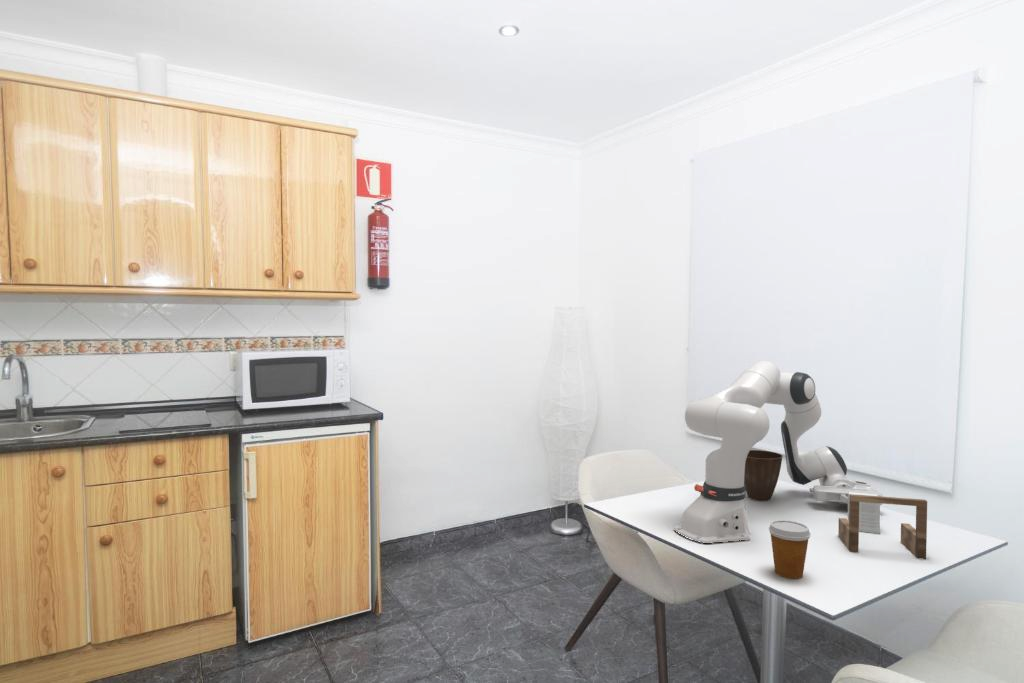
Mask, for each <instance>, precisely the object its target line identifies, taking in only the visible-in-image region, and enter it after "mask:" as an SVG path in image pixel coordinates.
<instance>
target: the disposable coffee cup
mask: <svg viewBox="0 0 1024 683" xmlns="http://www.w3.org/2000/svg"><path fill="white" fill-rule="evenodd" d="M767 529H768V531H769V533H770V540H771V549H772V557H773V564H774V572H775V574H777V575H778V574H779V575H778V576H780V577H782V576H783V578H786V579H797V580H798V579H801V578H803V576H804V570H805V563H806V557H807V550H808V545H809V543H808V542H809V539H810V538H811V535H812V534H811V532H810V529H809V527H808V526H807V525H805V524H804V523H800V522H797V521H792V520H785V519H783V520H772V521H771V522H770V526H768V528H767Z"/></svg>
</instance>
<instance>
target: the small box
mask: <svg viewBox="0 0 1024 683" xmlns="http://www.w3.org/2000/svg"><path fill="white" fill-rule="evenodd" d="M850 494H854V495H867V496H877V495H876V494H866V493H856V492H848V504H847V520H848V521H849V497H850ZM861 531H862V533H871V534H878V535H880V533H881V505H880V503H869V502H859V532H861Z"/></svg>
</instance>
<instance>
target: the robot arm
mask: <svg viewBox="0 0 1024 683" xmlns="http://www.w3.org/2000/svg"><path fill="white" fill-rule="evenodd" d="M819 401H820V400H819V398H818V395H817V394H816V384H815V381H814V378H812V377H811V376H810V375H809V374H807V373H804V372H800V371H798V372H797V371H796V372H791V371H780V369H779V367H778V366H777V365H776V364H775V363H773V362H771V361H768V360H759V361H757V362H755V363H753V364H752V365H750V366H749V367H748V368H746V369H745V370H744V371H743V372H742V373H741V374H740V375H739V376H738V377H737V378H736V379H735V381H733V382H732V383H731V384H730V386H728V387H726V388H725V389H722V390H720V391H719V392H717V393H715V394H712V395H710V396H708V397H705V398H702V399H698V400H694V401H692V402H690V403H689V404H688V405H687V407H686V410H685V412H684V420H685V424H686V426H687V428H688V429H689V430H690V431H692V432H695V433H698V434H700V435H703V436H707V437H714V438H721V440H722V441H721V446H720V448H718V449H715V450H713V451H711V452H710V453H709V454H707V456H706V458H705V476H704V477H705V480H704V482H703V484H702V485H700V484H698V483H696V484H695V485H694V487H693V489H694V491H696V492H698V493H700V495H699V496H698V497H697V498H696V499H695V500H694V501H693V502H692V503H691V504H689V506H688V507H686V508H685V509H684V511H683V512H682V519H681V523H680V524H676V525H674V526H673V530H674V529H675V530H676V531H677V532H679V533H680V534H682V535H684V536H686V537H688V538H691V539H693V540H696V541H700V542H704V543H711V542H723V543H729V542H728V541H734V542H742V541H741V540H745V541H750V539H751V537H750V530H749V526H748V518H747V517H748V516H747V512H746V504H745V502H746V501H745V499H746V495H747V492H746V486H745V485H744V473H745V462H746V458H747V455H748V453H749V451H750V450H752V448H753V447H754V446H755V445H756V444H757V443H759V442H760V441H762V440H763V439H764V438H766V436H767V434H768V433H769V430H770V419H769V416H768V414H767V412H766V411H765V410H764V409H762V407H763V406H764V405H765V404H770V405H778V406H779V405H780V406H783V408H784V410H785V411H784V412H785V415H784V416H785V417H784V419H783V421H782V422H781V423H780V430H781V431H780V432H781V438H782V439H781V440H782V444H783V450H784V454H785V462H786V463H785V465H786V470H787V471H786V472H787V474H788V476H789V479H790V480H792V482H793V483H796V484H798V485H802V486H805V485H806V484H808V483H812V482H813V481H817V480H818V481H819V484H818V485H814V486H813V487H811V488H809V491H810V492H811V493H812V494H813V495H812V496H813V499H814V500H815V501H819V502H829V503H831V502H832V503H836V504H838V505H848V492H856V493H866V494H876V495H877V496H881V497H883V494H882V493H881V492H880V491H879V490H878V489H876V488H874V487H873V486H872V485H871V484H870V483H869V482H864V481H858V480H857V481H856V480H855V479H854V480H853V479H850V478H848V477H846V476H847V473H848V472H847V471H848V467H847V464H846V462H845V460H844V459H843V456H842V455H841V454H840V453H839V451H838V450H837V449H835V448H833V447H831V446H828V445H827V446H822V447H820V448H817V449H814V450H812V451H809V452H806V453H803V454H800V455H799V449H798V448H799V447H798V441H799V439H800V438H801V437H802V436H803V435H804V434H805V433H806V432H808V431H809V430H810V429H812V428H814V427H815V426H816V425H817V423H818V422H819V420H820V419H821V416H822V407H821V404H820V402H819ZM882 505H883V504H882V503H880V506H882ZM739 540H740V541H739Z"/></svg>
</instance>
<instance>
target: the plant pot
mask: <svg viewBox="0 0 1024 683" xmlns="http://www.w3.org/2000/svg"><path fill="white" fill-rule="evenodd" d="M782 461H783V455H782V454H781V453H777V452H774V451H770V450H769V451H767V450H761V449H751V450H750V451H749V453H748V455H747V458H746V462H745V473H744V485H745V486H746V495H747V496H748V499H750V500H753V501H757V500H758V501H757V502H767V501H768V500H769V501H770V499H772V498H773V495H774V493H775V489H776V487H777V483H778V481H779V477H780V471H781V469H782V468H781V467H782Z"/></svg>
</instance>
